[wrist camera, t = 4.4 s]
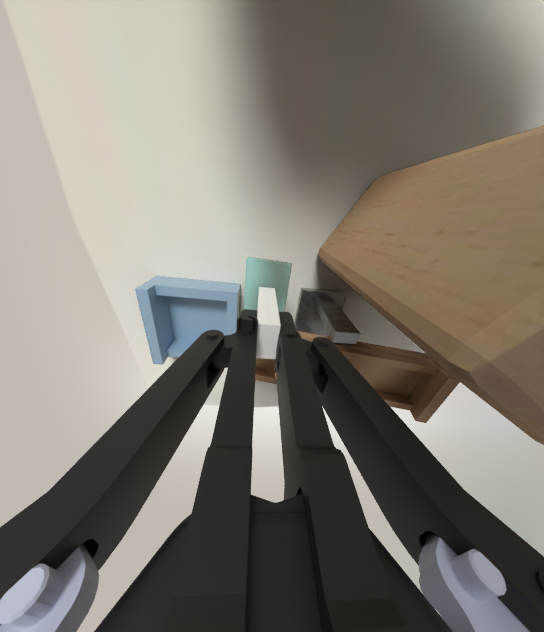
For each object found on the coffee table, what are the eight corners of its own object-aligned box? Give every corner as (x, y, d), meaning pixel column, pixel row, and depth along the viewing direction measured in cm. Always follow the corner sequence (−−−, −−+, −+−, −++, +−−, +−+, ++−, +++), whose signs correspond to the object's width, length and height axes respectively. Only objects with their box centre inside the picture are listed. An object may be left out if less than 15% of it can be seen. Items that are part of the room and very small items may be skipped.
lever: (243, 364, 24) (234, 386, 21) (249, 256, 18) (237, 264, 15) (407, 396, 22) (424, 424, 19) (479, 290, 16) (520, 308, 13)
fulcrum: (288, 352, 30) (296, 403, 22) (301, 287, 25) (318, 323, 17) (324, 355, 31) (345, 405, 23) (344, 292, 26) (381, 329, 18)
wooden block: (366, 297, 26) (570, 469, 9) (312, 253, 23) (461, 385, 6) (431, 233, 23) (1011, 311, 5) (377, 171, 19) (1391, -182, 2)
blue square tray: (156, 275, 24) (135, 288, 20) (240, 284, 25) (235, 298, 21) (168, 342, 29) (153, 363, 25) (237, 347, 30) (233, 368, 26)
